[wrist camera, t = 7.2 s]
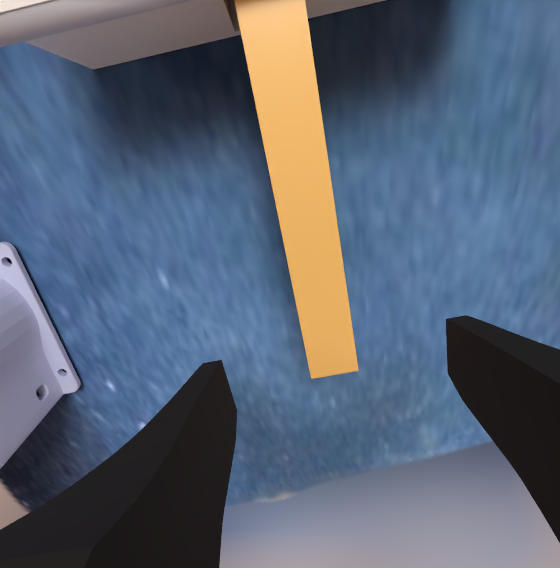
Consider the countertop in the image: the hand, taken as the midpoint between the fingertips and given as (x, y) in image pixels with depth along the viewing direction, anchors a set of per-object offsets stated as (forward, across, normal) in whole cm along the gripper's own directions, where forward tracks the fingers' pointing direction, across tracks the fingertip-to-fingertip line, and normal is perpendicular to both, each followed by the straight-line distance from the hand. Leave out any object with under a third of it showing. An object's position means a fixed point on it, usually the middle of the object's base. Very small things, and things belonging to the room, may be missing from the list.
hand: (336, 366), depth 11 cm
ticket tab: (+8, 0, -4) cm, 9 cm away
